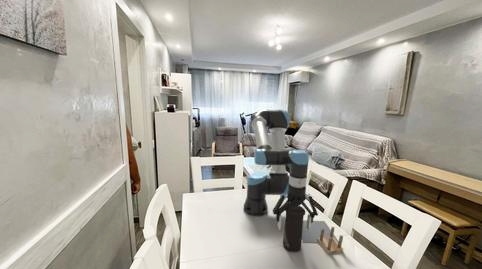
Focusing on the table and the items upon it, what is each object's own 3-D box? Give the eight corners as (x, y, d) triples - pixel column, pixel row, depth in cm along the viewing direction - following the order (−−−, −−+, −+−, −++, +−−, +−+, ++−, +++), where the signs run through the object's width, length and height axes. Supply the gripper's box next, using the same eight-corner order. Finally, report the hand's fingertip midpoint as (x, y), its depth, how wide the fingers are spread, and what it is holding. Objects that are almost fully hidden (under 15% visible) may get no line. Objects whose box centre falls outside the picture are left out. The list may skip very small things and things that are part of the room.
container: (287, 237, 98) (290, 200, 95) (304, 245, 93) (308, 207, 89) (279, 246, 92) (281, 207, 88) (297, 256, 86) (301, 215, 83)
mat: (303, 243, 94) (303, 242, 94) (293, 221, 112) (293, 220, 112) (340, 244, 94) (340, 243, 94) (324, 221, 112) (324, 221, 112)
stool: (327, 254, 88) (330, 240, 86) (317, 241, 95) (319, 228, 93) (342, 251, 90) (345, 237, 88) (331, 238, 97) (333, 225, 95)
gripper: (270, 187, 83) (268, 232, 86) (328, 189, 83) (323, 234, 87) (268, 180, 91) (265, 222, 94) (321, 182, 91) (317, 223, 94)
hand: (293, 228), depth 90 cm, fingers open, 13 cm apart
